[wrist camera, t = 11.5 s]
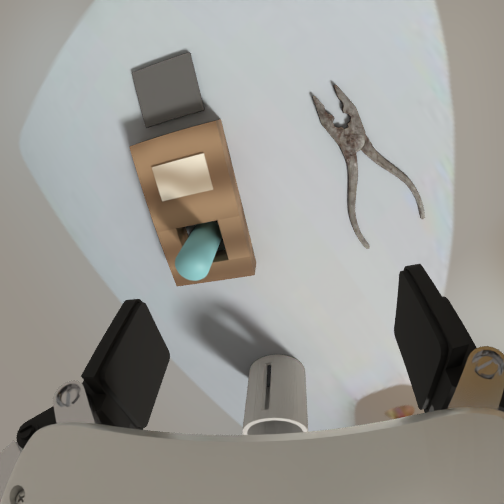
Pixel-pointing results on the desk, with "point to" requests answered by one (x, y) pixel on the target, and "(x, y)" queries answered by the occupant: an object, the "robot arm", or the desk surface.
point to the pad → (168, 90)
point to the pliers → (350, 144)
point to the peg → (199, 251)
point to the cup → (276, 397)
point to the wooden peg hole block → (195, 196)
